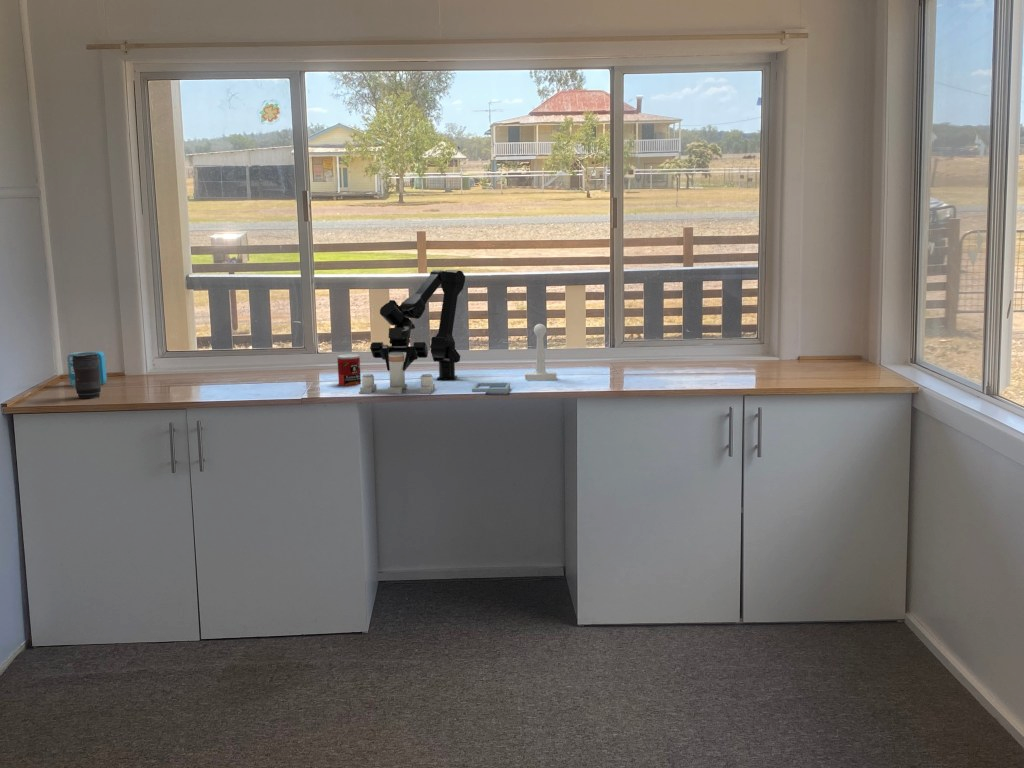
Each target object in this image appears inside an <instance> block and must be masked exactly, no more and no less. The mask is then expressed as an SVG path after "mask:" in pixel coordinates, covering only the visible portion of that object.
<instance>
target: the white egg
mask: <svg viewBox="0 0 1024 768" xmlns="http://www.w3.org/2000/svg"><path fill="white" fill-rule="evenodd" d="M374 384H375V376H374V374H371V373H367V374H366V373H365V374H362V375H361V385H362V386H361V387H372V392H374V391H375V388H374Z"/></svg>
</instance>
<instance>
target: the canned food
mask: <svg viewBox="0 0 1024 768" xmlns="http://www.w3.org/2000/svg"><path fill="white" fill-rule="evenodd" d="M337 374H338V375H337V376H338V385H339V386H341V387H343V386H344V387H352V386H353V387H354V386H359V385H362V374H361V357H360V354H353V353H348V354H347V353H346V354H345V353H344V354H340V355H337Z"/></svg>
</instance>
